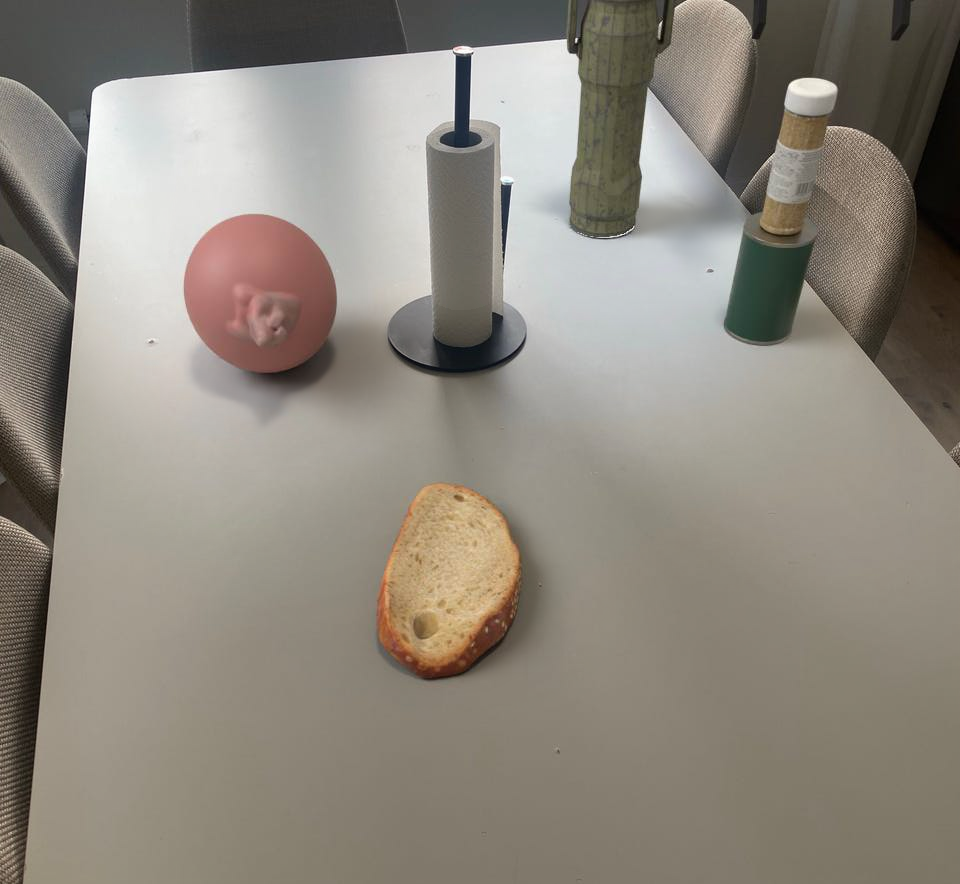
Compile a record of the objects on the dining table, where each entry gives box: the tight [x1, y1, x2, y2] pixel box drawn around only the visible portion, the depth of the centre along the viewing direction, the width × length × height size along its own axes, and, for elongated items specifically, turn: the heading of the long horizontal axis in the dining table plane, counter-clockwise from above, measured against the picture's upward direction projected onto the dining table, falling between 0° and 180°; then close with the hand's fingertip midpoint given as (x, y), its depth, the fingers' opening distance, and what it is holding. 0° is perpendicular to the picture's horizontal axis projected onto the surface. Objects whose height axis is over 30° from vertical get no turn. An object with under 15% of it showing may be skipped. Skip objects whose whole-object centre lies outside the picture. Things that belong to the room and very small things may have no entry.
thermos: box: [566, 0, 677, 237], centre depth 110 cm, size 9×12×35 cm
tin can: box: [723, 211, 819, 346], centre depth 102 cm, size 8×8×12 cm
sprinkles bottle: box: [760, 77, 839, 235], centre depth 93 cm, size 5×5×13 cm
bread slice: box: [376, 482, 523, 679], centre depth 79 cm, size 18×18×4 cm
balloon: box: [183, 213, 338, 374], centre depth 96 cm, size 15×20×15 cm
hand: (829, 32), depth 92 cm, fingers open, 13 cm apart
